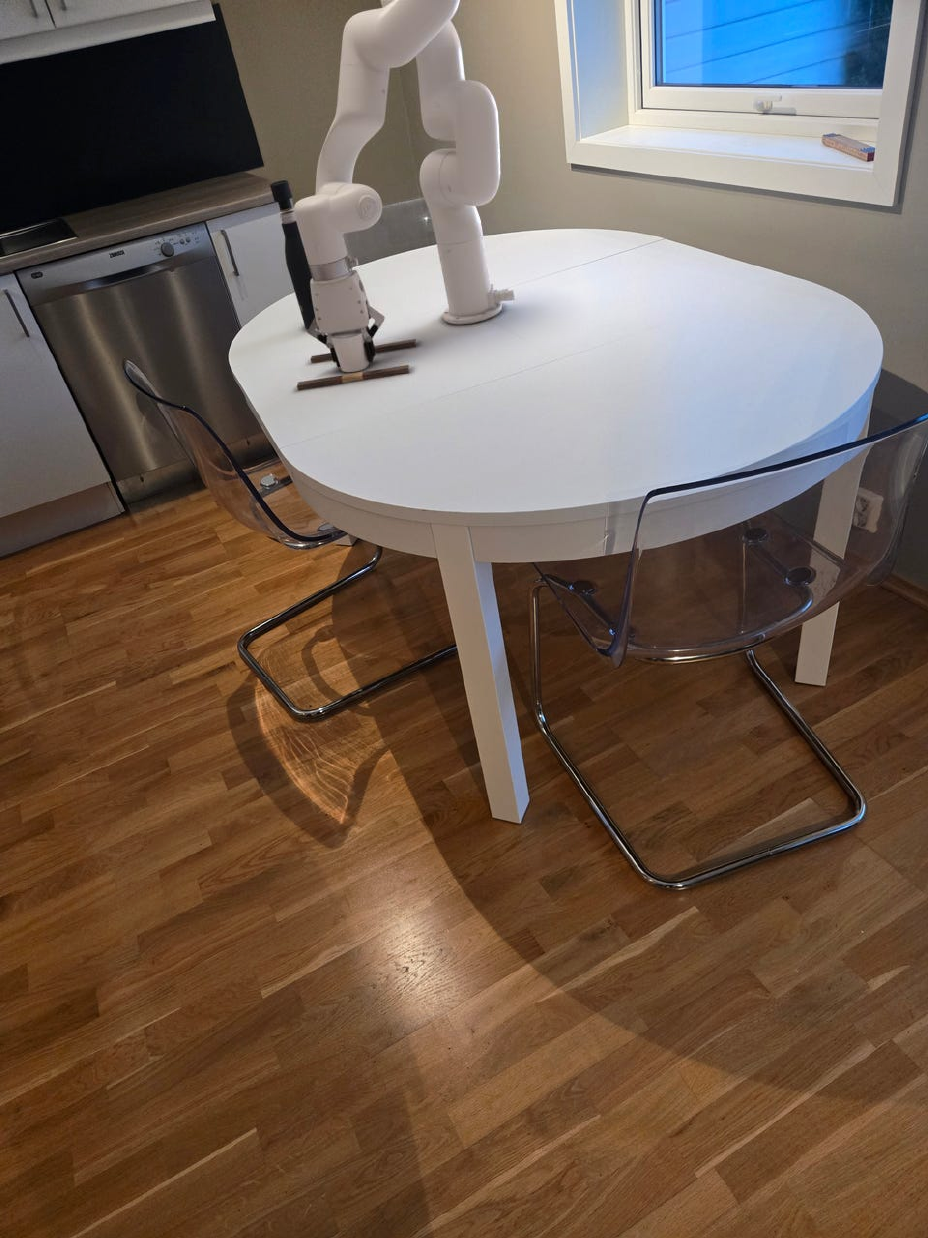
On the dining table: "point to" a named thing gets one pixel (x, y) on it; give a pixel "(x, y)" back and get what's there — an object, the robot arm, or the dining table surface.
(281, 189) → the wine bottle
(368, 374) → the guide rails
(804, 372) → the dining table surface
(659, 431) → the dining table surface
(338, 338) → the white cup
